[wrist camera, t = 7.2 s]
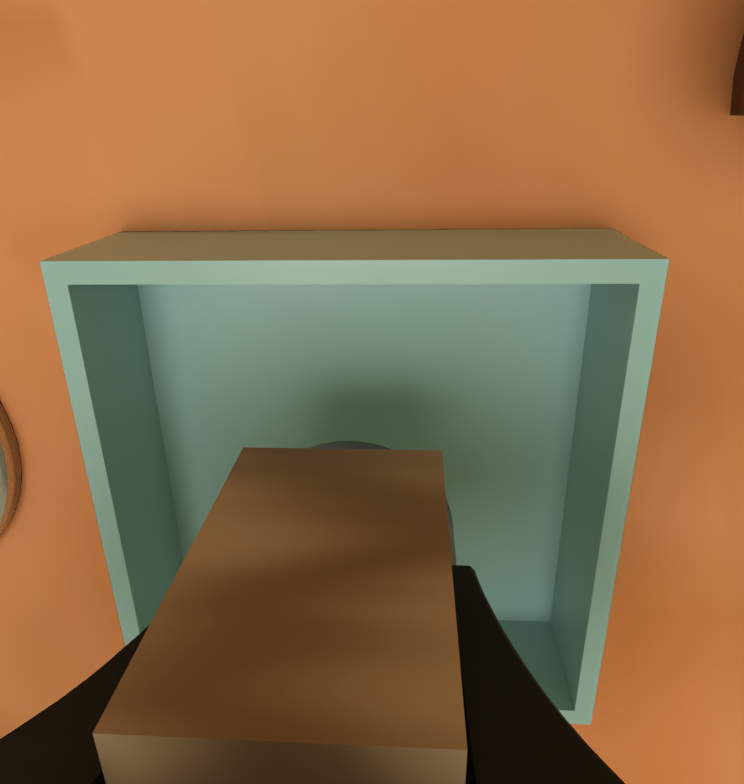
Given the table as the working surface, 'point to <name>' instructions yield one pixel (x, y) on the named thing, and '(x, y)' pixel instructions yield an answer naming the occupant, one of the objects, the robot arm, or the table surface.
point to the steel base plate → (8, 471)
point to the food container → (738, 84)
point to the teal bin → (374, 397)
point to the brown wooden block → (303, 632)
